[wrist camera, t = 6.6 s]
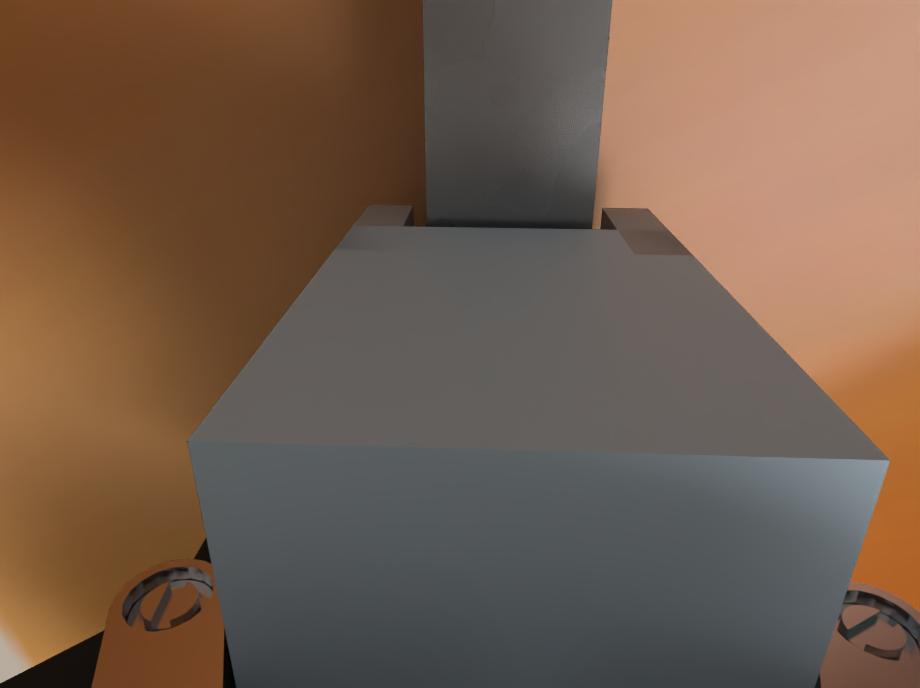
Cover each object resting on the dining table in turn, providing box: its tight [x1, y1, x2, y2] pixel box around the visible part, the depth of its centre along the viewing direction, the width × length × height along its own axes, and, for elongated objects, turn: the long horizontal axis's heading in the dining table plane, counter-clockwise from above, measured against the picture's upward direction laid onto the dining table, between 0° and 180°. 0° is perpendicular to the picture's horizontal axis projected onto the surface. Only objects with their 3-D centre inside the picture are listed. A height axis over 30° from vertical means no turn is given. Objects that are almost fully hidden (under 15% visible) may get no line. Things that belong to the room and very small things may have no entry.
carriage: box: [187, 205, 890, 688], centre depth 11 cm, size 8×6×9 cm
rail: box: [423, 0, 612, 229], centre depth 12 cm, size 25×3×2 cm, turn 0°
